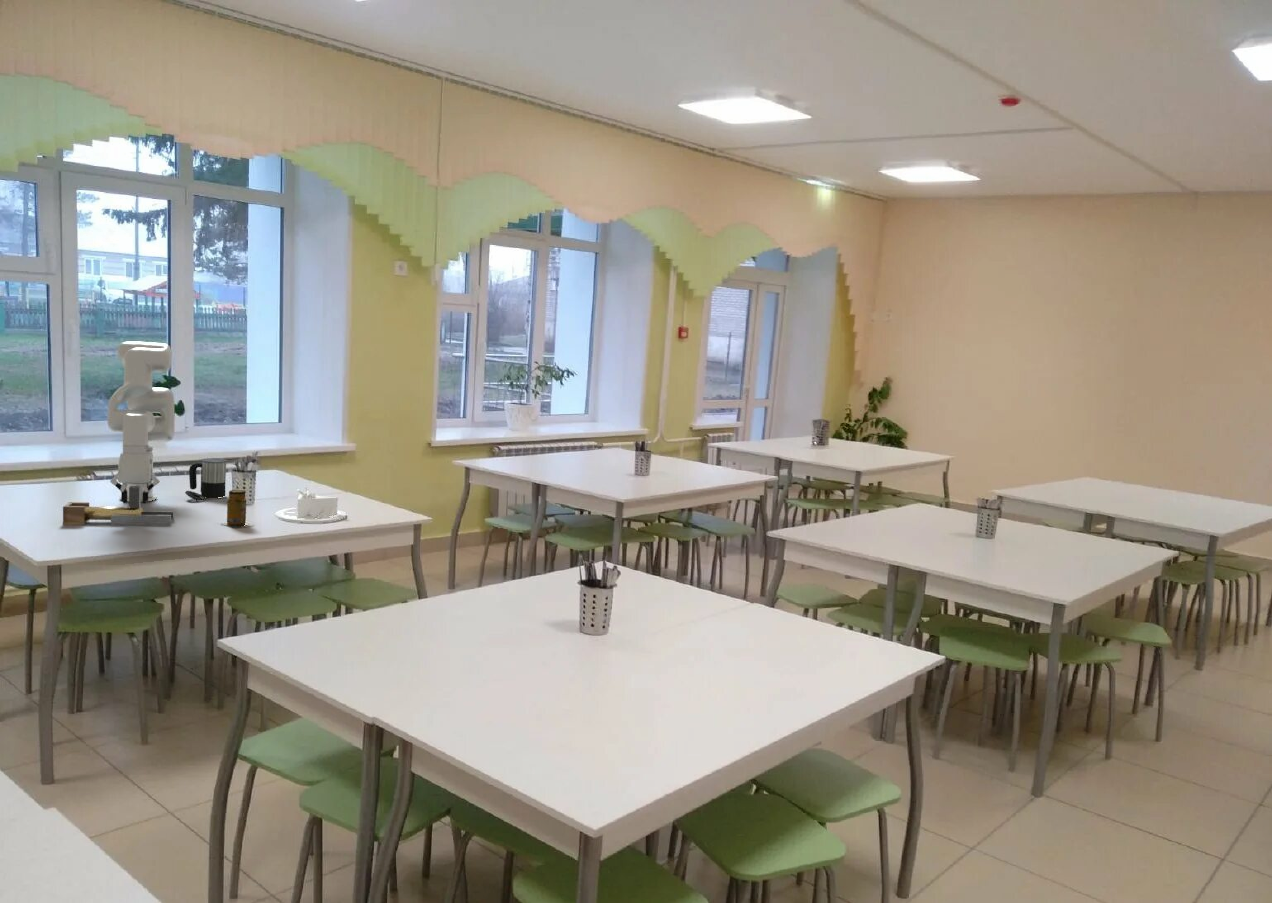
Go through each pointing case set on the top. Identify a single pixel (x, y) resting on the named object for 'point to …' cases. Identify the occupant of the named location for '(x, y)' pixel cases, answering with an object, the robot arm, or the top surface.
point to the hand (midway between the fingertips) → (134, 502)
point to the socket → (74, 513)
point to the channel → (144, 518)
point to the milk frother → (208, 478)
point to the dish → (312, 509)
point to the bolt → (106, 512)
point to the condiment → (236, 509)
